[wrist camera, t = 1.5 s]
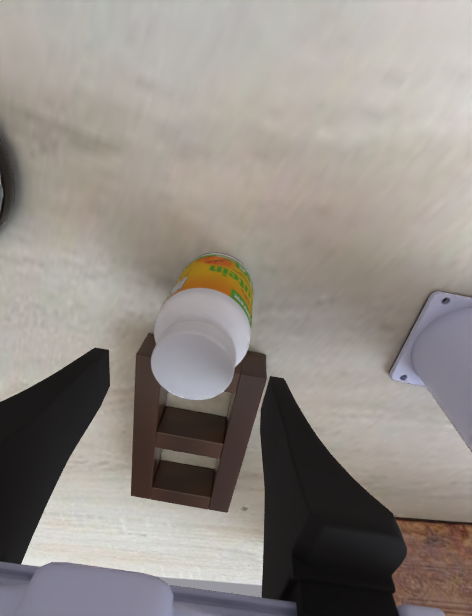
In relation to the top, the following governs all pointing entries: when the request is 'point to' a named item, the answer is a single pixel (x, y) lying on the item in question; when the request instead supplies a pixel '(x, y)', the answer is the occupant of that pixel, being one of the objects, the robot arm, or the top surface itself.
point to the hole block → (192, 437)
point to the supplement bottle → (203, 328)
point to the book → (435, 566)
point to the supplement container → (5, 187)
